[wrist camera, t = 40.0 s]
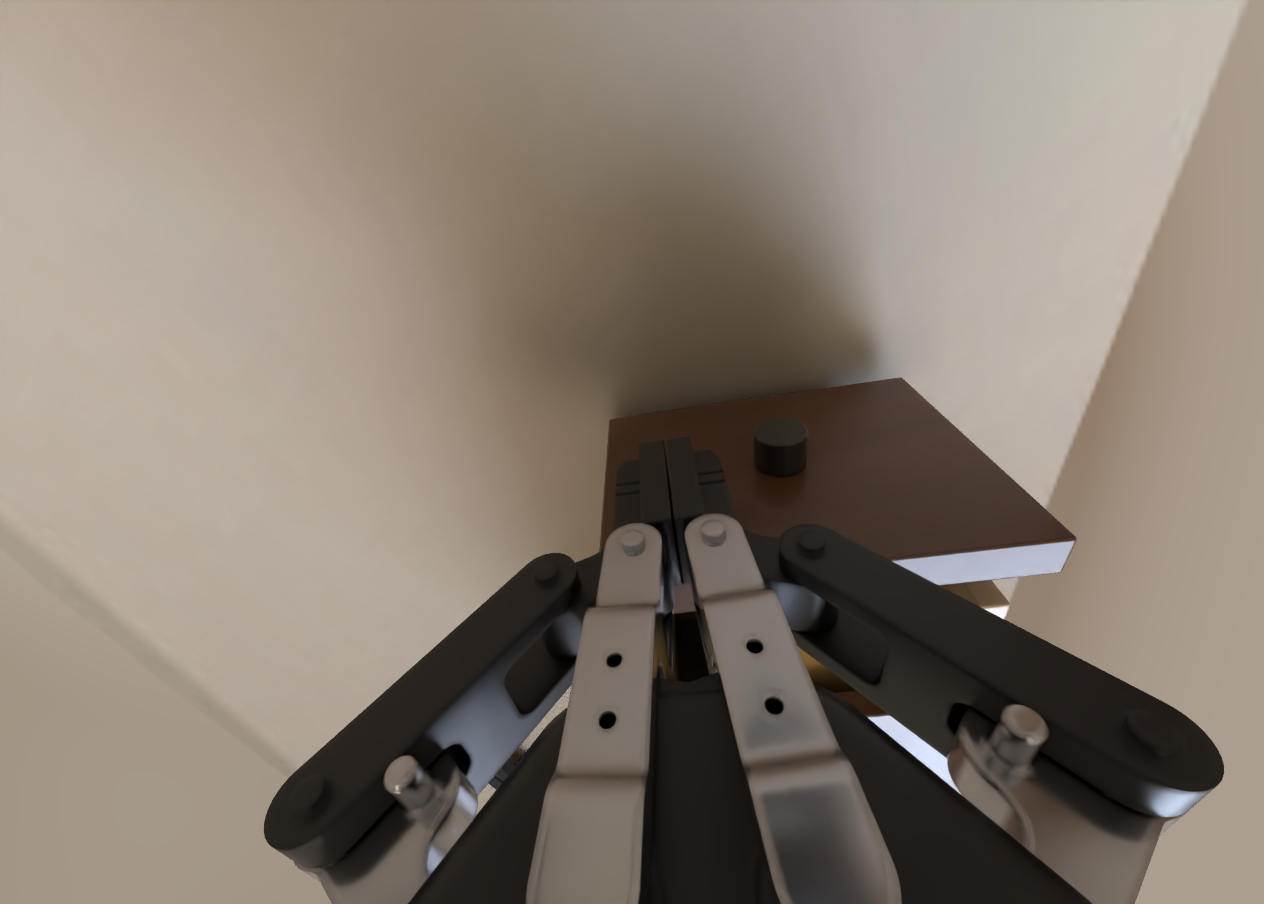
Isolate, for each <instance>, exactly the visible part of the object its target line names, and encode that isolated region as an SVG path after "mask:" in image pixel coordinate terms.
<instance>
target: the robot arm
mask: <svg viewBox="0 0 1264 904" xmlns="http://www.w3.org/2000/svg"><path fill="white" fill-rule="evenodd" d="M665 440H666V449H667V459H668V466H667V459H666V453H665V446H664V440H663V439H658V440H651V441H644V442H639V459H635V460H628V461H623V463H622V464H621V466H620V468H619V469H618V471H617V472H616V491H615V495H616V496H615V514H614V532H612V533H611V534H610V536H609V537H608V539H607V541H606V544H605V548H604V549H603V550H602V551H600V552H599V553H597V554H595V555H593V556H591V557H589V558H586V559H584V560H581V561H578V562H576V563H574V561H573V560H572V559H571V558H570V557H569V556H567V555H565V554H561V553H550V554H545V555H542V556H540V557H537V558H535V559H534V560H532V561H531V562H530V563H528V564H527V565H526V566H525V567H524V568H523V569H522V570H520V571H519V572H518V573H517V574H516V575H515V576H514V577H513V578H511V579H510V580H509V581H508V582H507V583H506V584H505V585H504V586H503V587H501V588H500V589H499V590H498V591H497V592H496V593H495V594H494V595H492V596H491V597H490V598H489V599H488V600H487V601H486V602H485V603H484V604H482V605H481V606H480V607H479V608H478V609H477V610H476V611H475V612H473V613H472V614H471V615H470V616H469V617H468V618H467V619H466V620H465V621H463V622H462V623H461V624H460V625H459V626H458V627H457V628H456V629H454V630H453V631H452V632H451V633H450V634H449V635H448V636H447V637H445V638H444V639H443V640H442V641H441V642H440V643H439V644H438V645H437V646H435V647H434V648H433V649H432V650H431V651H430V652H429V653H428V654H426V655H425V656H424V657H423V658H422V659H421V660H420V661H419V662H418V663H416V664H415V665H414V666H413V667H412V668H411V669H410V670H409V671H407V672H406V673H405V674H404V675H403V676H402V677H401V678H400V679H399V680H397V681H396V682H395V683H394V684H393V685H392V686H391V687H390V688H388V689H387V690H386V691H385V692H384V693H383V694H382V695H381V696H380V697H378V698H377V699H376V700H375V701H374V702H373V703H372V704H371V705H369V706H368V707H367V708H366V709H365V710H364V711H363V712H362V713H361V714H359V715H358V716H357V717H356V718H355V719H354V720H353V721H352V722H350V723H349V724H348V725H347V726H346V727H345V728H344V729H343V730H342V731H340V732H339V733H338V734H337V735H336V736H335V737H334V738H333V739H331V740H330V741H329V742H328V743H327V744H326V745H325V746H324V747H322V748H321V749H320V750H319V751H318V752H317V753H316V754H315V755H314V756H312V757H311V758H310V759H309V760H308V761H307V762H306V763H305V764H303V765H302V766H301V767H300V768H299V769H298V770H297V771H296V772H295V773H294V774H293V775H292V776H290V777H289V778H288V780H287V781H286V782H285V783H284V784H283V785H282V787H281V788H280V789H279V791H278V792H277V794H276V795H275V797H274V799H273V800H272V803H271V804H270V806H269V809H268V811H267V815H266V818H265V823H264V834H265V838H266V840H267V842H268V844H269V845H270V846H272V847H273V848H275V849H276V850H278V851H279V852H281V853H282V854H284V855H285V856H287V857H288V858H290V859H291V860H293V861H294V863H295V865H296V866H297V867H298V868H299V869H301V870H302V871H304V872H305V873H307V874H308V875H310V876H311V877H313V878H314V879H316V880H318V881H319V882H321V884H322V886H323V888H324V890H325V892H326V893H327V895H328V897H329V899H330V901H331V903H332V904H1135V901H1136V898H1137V896H1138V893H1139V890H1140V887H1141V884H1142V882H1143V879H1144V876H1145V873H1146V871H1147V868H1148V865H1149V863H1150V860H1151V857H1152V854H1153V852H1154V849H1155V846H1156V844H1157V841H1158V838H1159V836H1160V835H1162V834H1163V833H1164V832H1165V831H1166V830H1167V829H1168V828H1170V827H1171V826H1172V825H1173V824H1174V823H1175V822H1176V821H1178V820H1179V819H1180V818H1181V817H1182V816H1183V815H1184V814H1185V813H1187V811H1189V810H1190V809H1191V808H1192V807H1193V806H1194V805H1196V804H1197V803H1198V802H1199V801H1200V800H1201V799H1202V798H1204V797H1205V796H1206V795H1207V794H1208V793H1209V792H1211V791H1212V790H1213V789H1214V788H1215V787H1216V786H1217V785H1218V784H1219V783H1220V782H1221V780H1222V778H1223V775H1224V765H1223V761H1222V757H1221V755H1220V754H1219V751H1218V749H1217V748H1216V746H1215V745H1214V743H1213V742H1212V740H1211V739H1210V738H1209V737H1208V736H1207V735H1206V733H1205V732H1204V731H1203V730H1202V729H1201V728H1200V727H1199V726H1198V725H1196V724H1195V723H1194V722H1193V721H1192V720H1190V719H1189V718H1188V717H1187V716H1185V715H1184V714H1182V713H1181V712H1179V711H1178V710H1176V709H1175V708H1173V707H1171V706H1170V705H1168V704H1166V703H1164V702H1162V701H1160V700H1159V699H1156V698H1155V697H1153V696H1151V695H1149V694H1147V693H1145V692H1143V691H1141V690H1139V689H1137V688H1135V687H1133V686H1131V685H1129V684H1128V683H1126V682H1124V681H1122V680H1120V679H1118V678H1116V677H1114V676H1112V675H1110V674H1108V673H1106V672H1105V671H1102V670H1100V669H1098V668H1097V667H1095V666H1093V665H1091V664H1089V663H1087V662H1085V661H1083V660H1081V659H1080V658H1077V657H1076V656H1074V655H1072V654H1070V653H1068V652H1066V651H1064V650H1062V649H1060V648H1058V647H1056V646H1054V645H1052V644H1051V643H1049V642H1047V641H1045V640H1043V639H1041V638H1039V637H1037V636H1035V635H1033V634H1031V633H1029V632H1027V631H1025V630H1024V629H1022V628H1020V627H1018V626H1016V625H1014V624H1012V623H1010V622H1008V621H1006V620H1004V619H1002V618H1000V617H999V616H997V615H995V614H993V613H991V612H989V611H987V610H985V609H983V608H981V607H979V606H977V605H975V604H973V603H972V602H970V601H968V600H966V599H964V598H962V597H960V596H958V595H956V594H954V593H952V592H950V591H948V590H946V589H945V588H943V587H941V586H939V585H937V584H935V583H933V582H931V581H929V580H927V579H925V578H923V577H921V576H919V575H918V574H916V573H914V572H912V571H910V570H908V569H906V568H904V567H902V566H900V565H898V564H896V563H894V562H893V561H891V560H889V559H887V558H885V557H883V556H881V555H879V554H877V553H875V552H873V551H871V550H869V549H867V548H866V547H864V546H862V545H860V544H858V543H856V542H854V541H852V540H850V539H848V538H846V537H844V536H842V535H840V534H839V533H837V532H835V531H833V530H831V529H829V528H826V527H824V526H821V525H816V524H800V525H796V526H793V527H791V528H789V529H787V530H786V531H785V532H784V533H783V534H782V535H781V537H780V538H776V537H768V536H762V535H758V534H755V533H752V532H750V531H748V530H746V529H745V528H744V527H742V526H741V525H740V524H739V522H738V521H737V519H736V517H735V513H734V509H733V506H732V502H731V498H730V495H729V491H728V487H727V483H726V480H725V476H724V472H723V469H722V465H721V461H720V458H719V457H718V456H717V455H715V454H714V453H713V452H712V451H711V450H710V449H708V450H701V451H693V450H692V445H691V440H690V435H686V436H679V437H672V438H665ZM668 468H669V473H668ZM669 477H670V479H669ZM675 528H676V529H675ZM676 534H677V538H676ZM677 541H678V547H679V554H680V560H681V567H682V574H683V580H684V585H689V584H691V585H692V592H693V599H694V606H695V613H696V617H697V622H698V626H699V631H700V635H701V639H702V644H703V648H704V653H705V657H706V662H707V666H708V671H709V675H708V676H706V677H703V678H700V679H697V680H694V681H691V682H681V681H675V612H674V603H675V596H674V586H682V583H681V575H680V565H679V556H678V547H677ZM798 647H799V648H800V649H802V650H803V651H804V652H806V653H807V654H808V655H810V656H811V657H812V658H814V659H815V660H816V661H818V662H819V663H820V664H822V665H823V666H824V667H826V668H827V669H828V670H830V671H831V672H832V673H834V674H835V675H836V676H838V677H839V678H840V679H842V680H843V681H844V682H846V683H847V684H848V685H850V686H851V687H852V688H854V689H855V690H856V691H858V692H859V693H860V694H862V695H863V696H864V697H866V698H867V699H868V700H870V701H871V702H872V703H874V704H875V705H876V706H878V707H879V708H880V709H882V710H883V711H884V712H886V713H887V714H888V715H890V716H891V717H892V718H894V719H895V720H896V721H898V722H899V723H900V724H902V725H903V726H904V727H906V728H907V729H908V730H910V731H911V732H912V733H914V734H915V735H916V736H918V737H919V738H920V739H922V740H923V741H924V742H926V743H927V744H928V745H930V746H931V747H932V748H934V749H935V750H936V751H938V752H939V753H940V754H942V755H943V756H944V757H946V758H947V765H948V771H949V773H950V776H951V779H952V781H953V783H954V785H955V786H956V788H957V789H958V791H959V792H960V793H961V794H960V793H959V792H957V791H956V790H955V789H954V788H953V787H951V786H950V785H949V784H948V783H946V782H945V781H944V780H943V779H942V778H940V777H939V776H938V775H937V774H936V773H934V772H933V771H932V770H931V769H929V768H928V767H927V766H926V765H925V764H923V763H922V762H921V761H920V760H919V759H917V758H916V757H915V756H914V755H912V754H911V753H910V752H909V751H908V750H906V749H905V748H904V747H903V746H902V745H900V744H899V743H898V742H897V741H895V740H894V739H893V738H892V737H891V736H889V735H888V734H887V733H886V732H885V731H883V730H882V729H881V728H880V727H878V726H877V725H876V724H875V723H874V722H872V721H871V720H870V719H869V718H868V717H866V716H865V715H864V714H863V713H861V712H860V711H859V710H858V709H857V708H855V707H854V706H853V705H852V704H850V703H849V702H848V701H846V700H845V699H843V698H842V697H840V696H839V695H837V694H836V693H834V692H832V691H830V690H828V689H826V688H825V687H823V686H820V685H818V684H815V683H813V682H812V680H811V678H810V675H809V673H808V671H807V668H806V666H805V663H804V661H803V658H802V656H801V654H800V651H799V649H798ZM571 684H572V687H571V692H570V698H569V703H568V708H566V709H565V710H563V711H562V712H561V713H560V714H559V715H557V716H556V717H555V718H554V719H553V720H552V721H551V722H550V723H549V724H548V725H547V726H546V728H545V729H544V730H543V731H542V732H541V734H540V735H539V736H538V738H537V739H536V740H535V741H534V743H533V744H532V745H531V747H530V748H529V749H528V750H527V752H526V753H525V754H524V755H523V757H522V758H521V759H520V761H519V762H518V763H517V764H516V766H515V767H514V768H513V770H512V771H511V772H510V773H509V775H508V776H507V777H506V779H505V780H504V781H503V782H502V784H501V785H500V786H499V787H498V789H497V790H496V791H495V793H494V794H493V795H492V796H491V798H490V799H489V800H488V802H487V803H486V804H485V805H484V807H483V808H482V809H481V810H480V812H479V813H478V814H477V808H478V797H477V796H478V795H479V793H480V792H481V791H482V790H483V789H484V788H485V786H486V785H487V784H488V783H489V782H490V780H491V779H492V778H493V777H494V776H495V774H496V773H497V772H498V771H499V770H500V769H501V767H502V766H503V765H504V764H505V763H506V761H507V760H508V759H509V758H510V757H511V756H512V754H513V753H514V752H515V751H516V750H517V748H518V747H519V746H520V745H521V744H522V742H523V741H524V740H525V739H526V738H527V737H528V735H529V734H530V733H531V732H532V731H533V729H534V728H535V727H536V726H537V725H538V724H539V722H540V721H541V720H542V719H543V718H544V716H545V715H546V714H547V713H548V712H549V710H550V709H551V708H552V707H553V706H554V705H555V703H556V702H557V701H558V700H559V699H560V697H561V696H562V695H563V694H564V693H565V692H566V690H567V689H568V688H569V687H570V686H571ZM476 814H477V816H476Z"/></svg>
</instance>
